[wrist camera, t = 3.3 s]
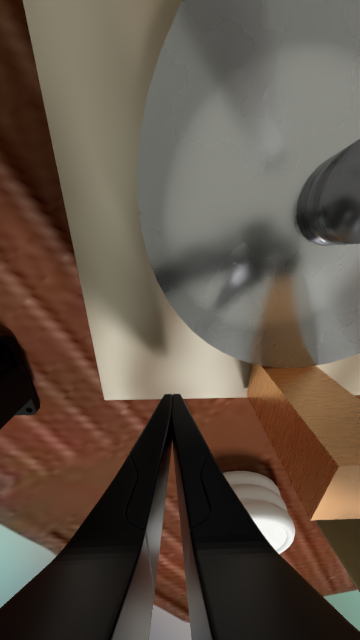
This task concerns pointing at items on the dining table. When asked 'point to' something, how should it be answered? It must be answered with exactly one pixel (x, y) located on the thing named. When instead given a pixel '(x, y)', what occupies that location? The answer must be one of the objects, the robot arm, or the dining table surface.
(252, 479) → the coaster
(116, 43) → the birch base board
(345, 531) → the cork
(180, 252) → the flange plate
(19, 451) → the dining table surface
